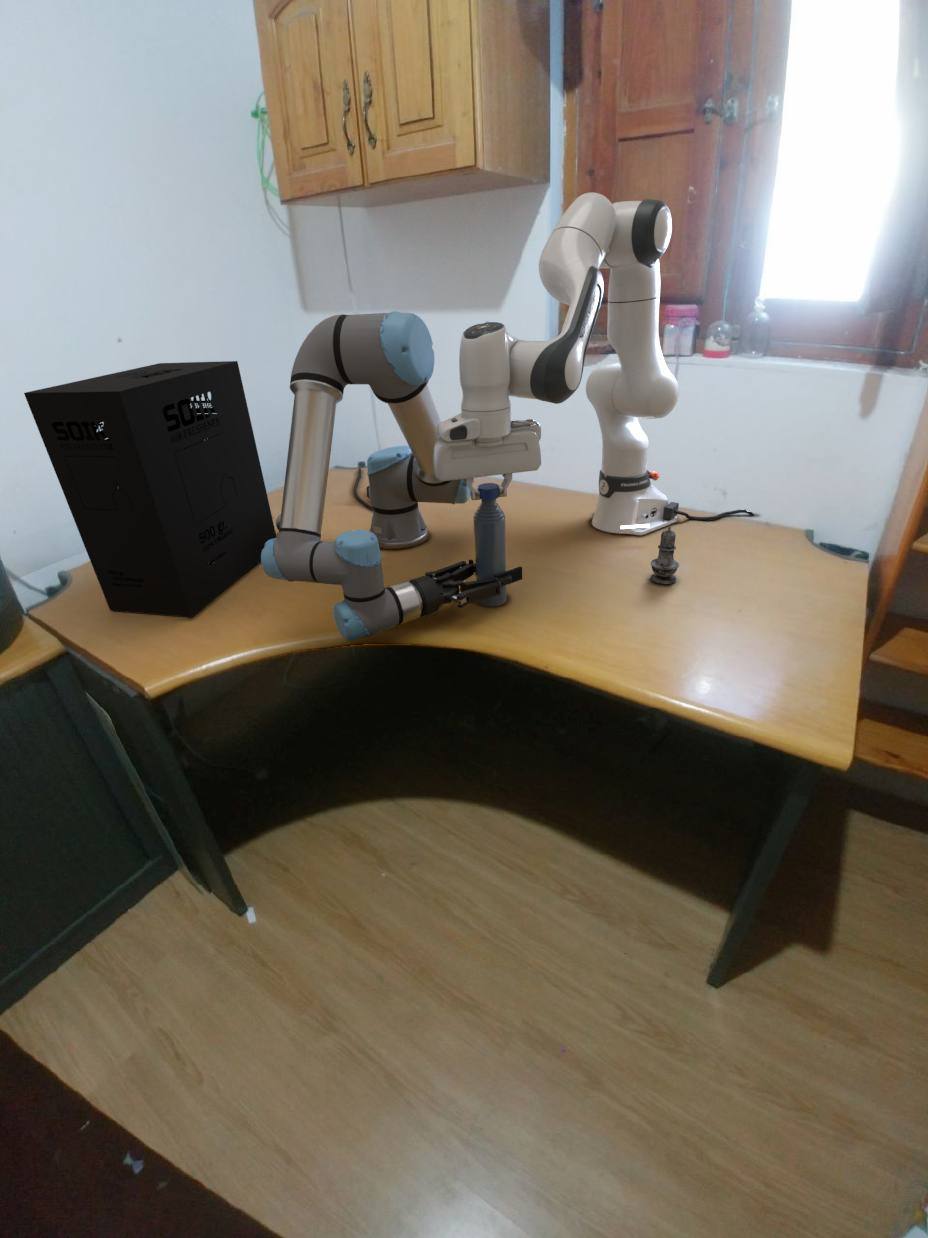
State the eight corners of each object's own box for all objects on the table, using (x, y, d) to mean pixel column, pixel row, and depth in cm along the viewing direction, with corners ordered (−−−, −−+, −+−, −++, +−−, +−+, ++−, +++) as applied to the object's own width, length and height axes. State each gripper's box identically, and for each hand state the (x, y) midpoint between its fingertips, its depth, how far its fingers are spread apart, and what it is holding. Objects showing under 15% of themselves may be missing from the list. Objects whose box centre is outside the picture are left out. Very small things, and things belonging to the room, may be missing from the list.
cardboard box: (191, 617, 126) (119, 391, 104) (110, 610, 131) (23, 392, 108) (278, 546, 158) (237, 360, 135) (210, 542, 162) (159, 363, 140)
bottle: (497, 589, 130) (494, 482, 118) (512, 601, 125) (510, 491, 114) (471, 597, 128) (466, 488, 116) (485, 609, 123) (481, 497, 111)
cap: (501, 493, 117) (501, 483, 116) (496, 500, 113) (496, 490, 112) (481, 492, 118) (480, 482, 117) (475, 499, 114) (475, 489, 113)
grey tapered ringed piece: (678, 585, 127) (686, 532, 121) (649, 584, 129) (655, 531, 123) (675, 573, 132) (683, 521, 126) (648, 572, 134) (653, 520, 128)
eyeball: (273, 537, 164) (268, 516, 161) (287, 528, 169) (282, 508, 166) (291, 539, 161) (286, 518, 158) (305, 530, 166) (301, 510, 163)
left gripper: (393, 597, 125) (486, 567, 135) (440, 636, 111) (539, 600, 121) (389, 564, 121) (484, 536, 131) (437, 601, 107) (540, 566, 117)
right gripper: (535, 414, 113) (535, 486, 120) (428, 425, 110) (434, 498, 117) (547, 421, 108) (545, 496, 115) (434, 432, 104) (440, 509, 111)
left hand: (511, 567), depth 126 cm, fingers closed on bottle, 6 cm apart
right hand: (488, 497), depth 116 cm, fingers closed on cap, 4 cm apart
